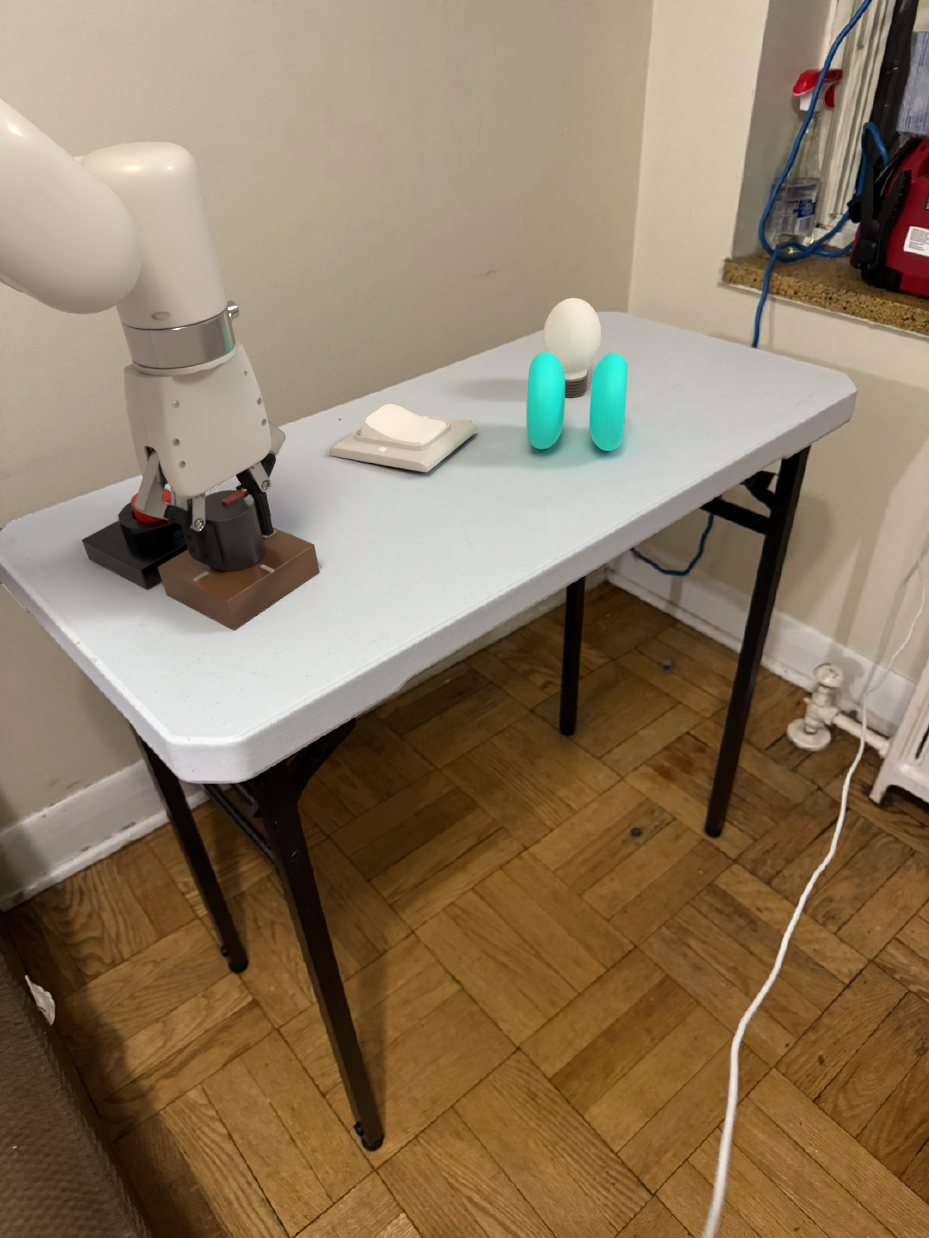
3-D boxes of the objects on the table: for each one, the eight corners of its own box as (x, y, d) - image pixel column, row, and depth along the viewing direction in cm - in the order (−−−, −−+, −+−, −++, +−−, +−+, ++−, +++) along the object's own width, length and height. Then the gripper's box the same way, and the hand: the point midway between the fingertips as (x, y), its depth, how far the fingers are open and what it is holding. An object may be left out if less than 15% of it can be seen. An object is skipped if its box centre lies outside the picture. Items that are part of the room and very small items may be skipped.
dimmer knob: (234, 578, 72) (219, 523, 69) (195, 560, 74) (179, 506, 71) (277, 549, 75) (266, 496, 72) (238, 533, 77) (225, 481, 74)
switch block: (147, 590, 76) (134, 552, 74) (88, 559, 81) (74, 522, 78) (242, 534, 83) (233, 497, 81) (182, 508, 88) (172, 472, 85)
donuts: (534, 423, 99) (534, 337, 93) (622, 425, 97) (628, 338, 91) (525, 465, 91) (524, 374, 85) (621, 468, 90) (627, 376, 83)
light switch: (380, 388, 100) (475, 400, 94) (385, 421, 103) (479, 435, 97) (323, 426, 93) (422, 442, 87) (330, 461, 96) (427, 478, 90)
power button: (152, 528, 78) (146, 511, 77) (128, 516, 80) (122, 500, 79) (184, 510, 80) (179, 494, 79) (160, 500, 82) (154, 483, 81)
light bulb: (597, 402, 102) (602, 309, 96) (540, 401, 103) (541, 309, 97) (599, 380, 108) (603, 289, 101) (545, 379, 109) (546, 289, 102)
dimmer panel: (235, 631, 71) (226, 600, 69) (165, 594, 76) (155, 565, 74) (320, 572, 77) (315, 543, 75) (251, 542, 82) (244, 513, 80)
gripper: (234, 295, 70) (275, 492, 81) (47, 367, 59) (124, 581, 71) (300, 310, 66) (334, 514, 78) (113, 389, 56) (184, 612, 67)
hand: (233, 544), depth 74 cm, fingers closed on dimmer knob, 5 cm apart
